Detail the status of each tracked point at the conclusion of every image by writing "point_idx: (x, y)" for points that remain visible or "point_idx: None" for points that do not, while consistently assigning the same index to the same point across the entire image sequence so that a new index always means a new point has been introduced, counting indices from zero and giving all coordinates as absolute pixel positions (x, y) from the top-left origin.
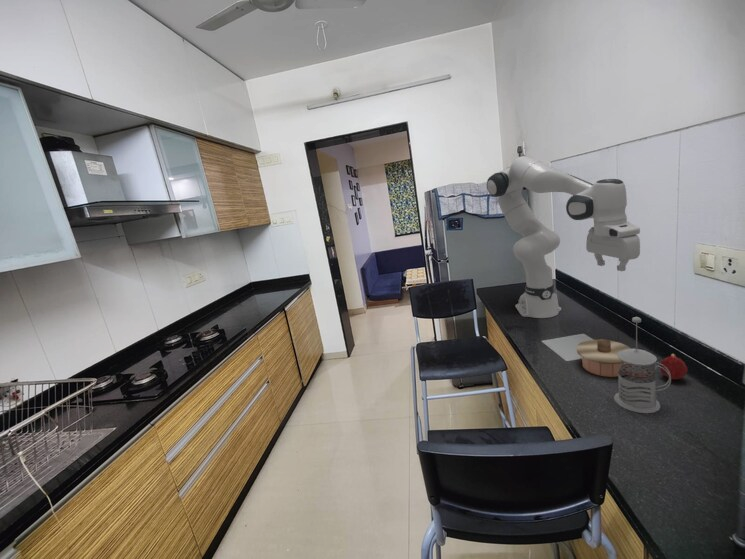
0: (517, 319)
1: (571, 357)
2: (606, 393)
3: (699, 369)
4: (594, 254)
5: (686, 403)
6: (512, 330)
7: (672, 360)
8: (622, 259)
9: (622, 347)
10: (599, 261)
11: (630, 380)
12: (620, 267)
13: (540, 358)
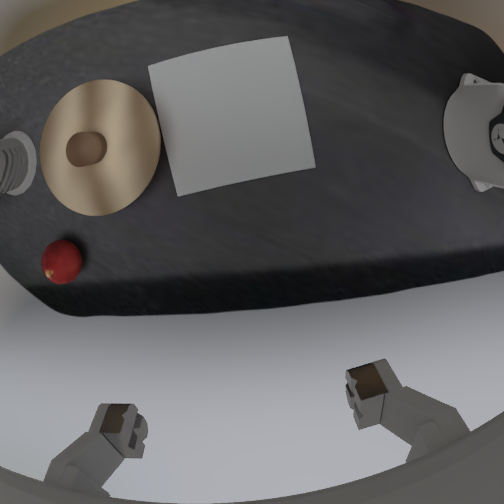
0: (448, 51)
1: (165, 82)
2: (30, 121)
3: (111, 309)
4: (462, 420)
5: (16, 231)
6: (379, 2)
7: (43, 265)
8: (45, 478)
9: (102, 198)
10: (367, 398)
11: (15, 166)
12: (91, 425)
13: (180, 13)
